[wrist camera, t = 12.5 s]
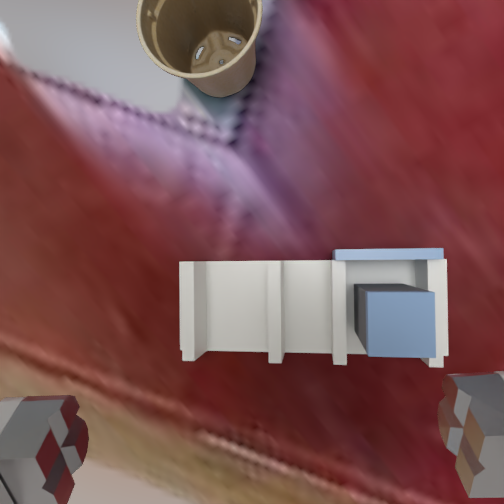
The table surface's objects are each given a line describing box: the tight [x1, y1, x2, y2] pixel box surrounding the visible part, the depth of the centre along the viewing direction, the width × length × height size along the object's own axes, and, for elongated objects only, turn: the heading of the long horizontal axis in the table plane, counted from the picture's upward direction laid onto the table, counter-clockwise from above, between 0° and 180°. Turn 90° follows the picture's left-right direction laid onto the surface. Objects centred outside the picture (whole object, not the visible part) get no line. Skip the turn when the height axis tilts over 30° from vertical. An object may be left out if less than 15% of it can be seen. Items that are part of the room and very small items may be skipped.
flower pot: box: [136, 0, 262, 97], centre depth 35 cm, size 9×9×9 cm
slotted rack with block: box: [179, 248, 448, 367], centre depth 35 cm, size 23×9×6 cm, turn 91°
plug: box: [354, 283, 436, 358], centre depth 32 cm, size 4×4×10 cm
